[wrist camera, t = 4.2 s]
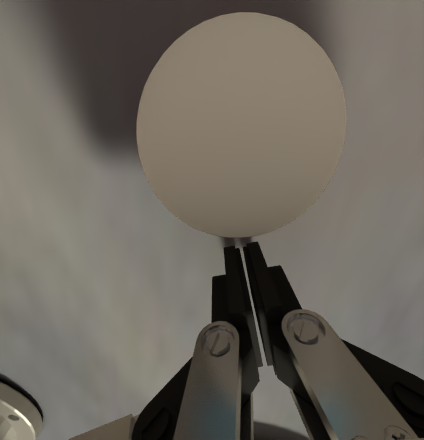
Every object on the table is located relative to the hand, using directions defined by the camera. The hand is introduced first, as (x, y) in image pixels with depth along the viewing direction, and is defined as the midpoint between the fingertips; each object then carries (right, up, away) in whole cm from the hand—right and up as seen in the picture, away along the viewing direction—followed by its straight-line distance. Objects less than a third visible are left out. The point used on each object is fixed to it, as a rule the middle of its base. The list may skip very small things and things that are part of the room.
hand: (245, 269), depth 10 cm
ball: (-1, +5, -4) cm, 6 cm away
